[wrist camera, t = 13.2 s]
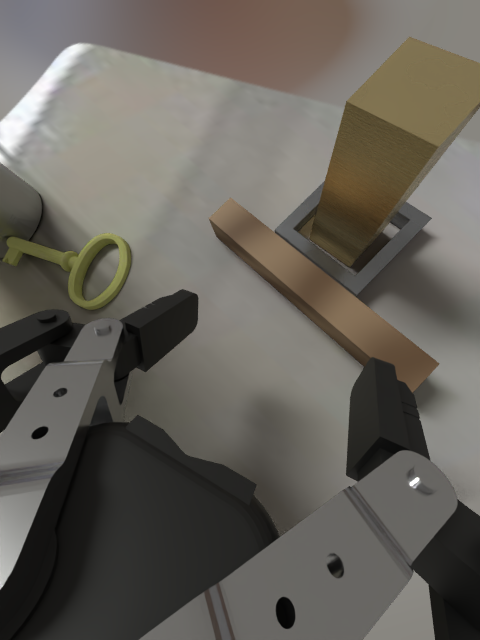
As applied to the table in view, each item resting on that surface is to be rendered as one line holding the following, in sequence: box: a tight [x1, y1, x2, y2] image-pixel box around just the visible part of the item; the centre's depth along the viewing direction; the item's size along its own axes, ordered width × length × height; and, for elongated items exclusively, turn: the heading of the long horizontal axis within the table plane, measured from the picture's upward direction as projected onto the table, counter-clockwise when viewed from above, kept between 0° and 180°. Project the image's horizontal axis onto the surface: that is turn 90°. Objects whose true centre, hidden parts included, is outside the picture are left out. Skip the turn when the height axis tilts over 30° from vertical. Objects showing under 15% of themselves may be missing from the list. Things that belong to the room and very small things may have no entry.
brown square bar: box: [209, 198, 439, 393], centre depth 17 cm, size 18×2×2 cm, turn 44°
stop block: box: [309, 37, 480, 267], centre depth 14 cm, size 4×4×10 cm
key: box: [2, 233, 131, 310], centre depth 21 cm, size 7×12×2 cm, turn 89°
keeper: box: [275, 181, 432, 296], centre depth 18 cm, size 8×8×1 cm
